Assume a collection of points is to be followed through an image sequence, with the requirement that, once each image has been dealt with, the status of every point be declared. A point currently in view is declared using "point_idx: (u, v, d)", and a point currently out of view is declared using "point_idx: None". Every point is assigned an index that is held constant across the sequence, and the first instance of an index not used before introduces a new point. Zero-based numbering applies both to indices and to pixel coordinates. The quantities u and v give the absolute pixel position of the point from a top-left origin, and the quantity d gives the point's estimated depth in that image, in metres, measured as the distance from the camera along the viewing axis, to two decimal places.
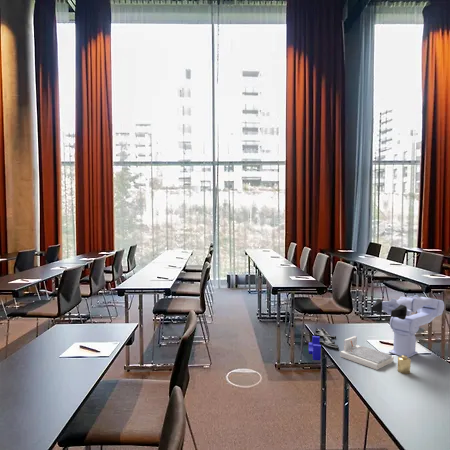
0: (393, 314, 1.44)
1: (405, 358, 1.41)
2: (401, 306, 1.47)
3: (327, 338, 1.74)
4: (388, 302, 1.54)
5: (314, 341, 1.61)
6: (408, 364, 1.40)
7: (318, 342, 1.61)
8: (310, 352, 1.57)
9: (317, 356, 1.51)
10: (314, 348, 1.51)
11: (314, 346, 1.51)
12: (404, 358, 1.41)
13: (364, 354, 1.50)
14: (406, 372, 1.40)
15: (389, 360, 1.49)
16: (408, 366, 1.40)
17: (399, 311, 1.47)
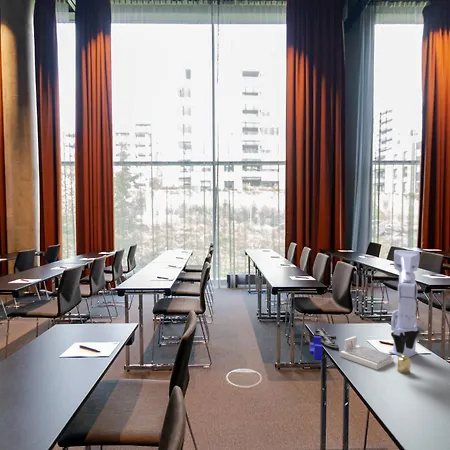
0: None
1: (405, 358, 1.41)
2: (417, 334, 1.43)
3: (327, 338, 1.74)
4: None
5: (315, 341, 1.61)
6: (408, 364, 1.40)
7: (319, 342, 1.61)
8: (311, 352, 1.57)
9: (318, 357, 1.51)
10: (315, 348, 1.51)
11: (315, 346, 1.51)
12: (404, 358, 1.41)
13: (364, 354, 1.50)
14: (406, 372, 1.40)
15: (389, 360, 1.49)
16: (408, 366, 1.40)
17: None
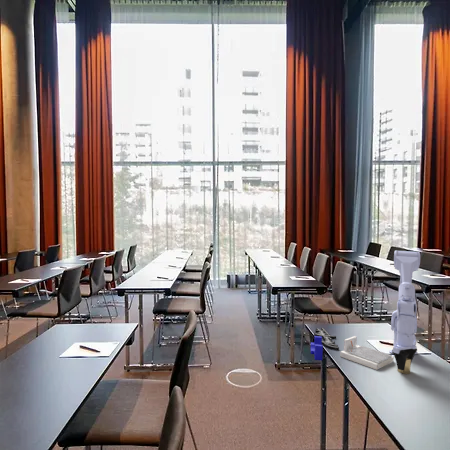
0: None
1: None
2: (414, 352, 1.42)
3: (327, 338, 1.74)
4: None
5: (316, 341, 1.61)
6: (408, 364, 1.40)
7: (320, 342, 1.61)
8: (312, 352, 1.57)
9: (319, 357, 1.51)
10: (316, 348, 1.51)
11: (316, 346, 1.51)
12: None
13: (364, 354, 1.50)
14: (406, 372, 1.40)
15: (389, 360, 1.49)
16: (408, 366, 1.40)
17: None
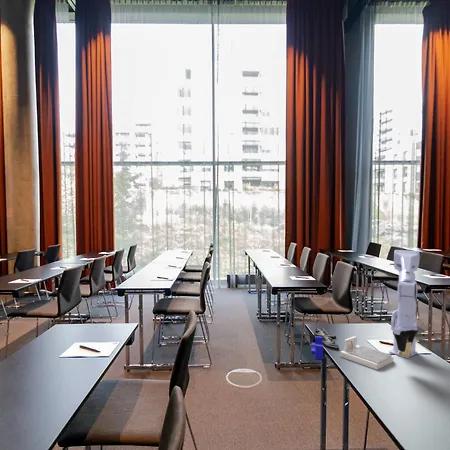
0: None
1: None
2: (415, 334, 1.42)
3: (327, 338, 1.74)
4: None
5: (317, 341, 1.61)
6: (409, 347, 1.40)
7: (321, 342, 1.60)
8: (313, 352, 1.57)
9: (319, 357, 1.51)
10: (316, 348, 1.51)
11: (316, 346, 1.51)
12: None
13: (364, 354, 1.50)
14: (407, 355, 1.40)
15: (389, 360, 1.49)
16: (409, 349, 1.40)
17: None
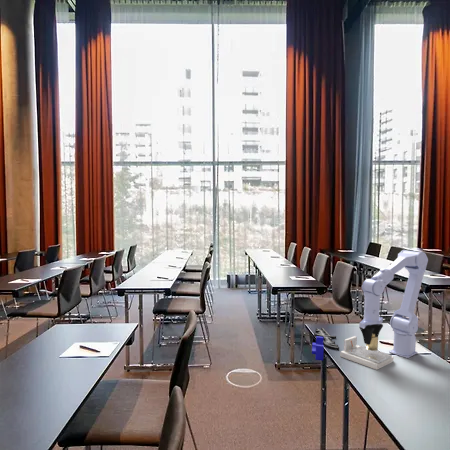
0: None
1: (373, 336, 1.50)
2: (380, 328, 1.52)
3: (327, 338, 1.74)
4: None
5: (318, 341, 1.61)
6: (375, 341, 1.49)
7: (322, 342, 1.60)
8: (313, 352, 1.57)
9: (319, 357, 1.51)
10: (317, 348, 1.51)
11: (317, 346, 1.51)
12: (372, 336, 1.50)
13: (364, 354, 1.50)
14: (373, 349, 1.49)
15: (389, 360, 1.49)
16: (375, 343, 1.49)
17: None
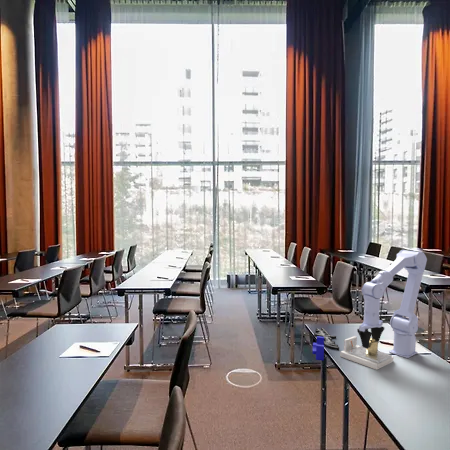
0: None
1: (373, 341, 1.50)
2: (382, 330, 1.53)
3: (327, 338, 1.74)
4: None
5: (318, 341, 1.61)
6: (375, 346, 1.49)
7: (322, 342, 1.60)
8: (314, 352, 1.57)
9: (320, 357, 1.51)
10: (317, 348, 1.51)
11: (317, 346, 1.51)
12: (372, 341, 1.50)
13: (364, 354, 1.50)
14: (373, 354, 1.49)
15: (389, 360, 1.49)
16: (375, 348, 1.49)
17: None
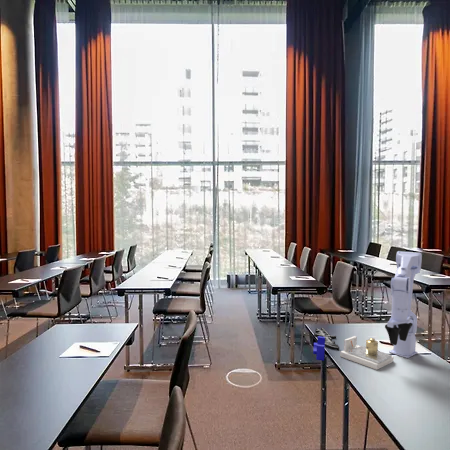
0: None
1: (372, 341, 1.50)
2: (410, 327, 1.48)
3: (327, 338, 1.74)
4: None
5: (319, 341, 1.61)
6: (375, 346, 1.49)
7: (323, 342, 1.60)
8: (314, 352, 1.57)
9: (320, 357, 1.51)
10: (317, 348, 1.51)
11: (317, 346, 1.51)
12: (372, 341, 1.50)
13: (364, 354, 1.50)
14: (373, 354, 1.49)
15: (389, 360, 1.49)
16: (375, 348, 1.49)
17: None
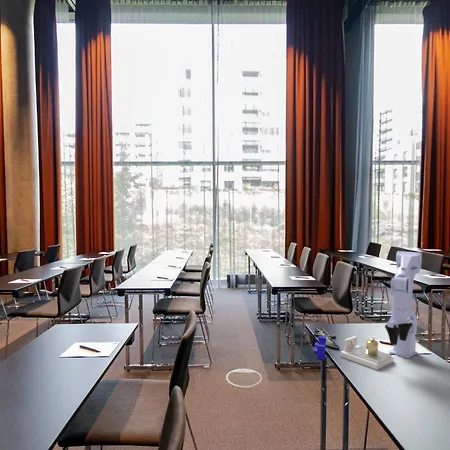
0: None
1: (373, 341, 1.50)
2: (410, 327, 1.48)
3: (327, 338, 1.74)
4: None
5: (320, 341, 1.61)
6: (375, 346, 1.49)
7: (324, 343, 1.60)
8: (315, 352, 1.57)
9: (321, 357, 1.51)
10: (318, 348, 1.51)
11: (318, 346, 1.51)
12: (372, 341, 1.50)
13: (364, 354, 1.50)
14: (373, 354, 1.49)
15: (389, 360, 1.49)
16: (375, 348, 1.49)
17: None
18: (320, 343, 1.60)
